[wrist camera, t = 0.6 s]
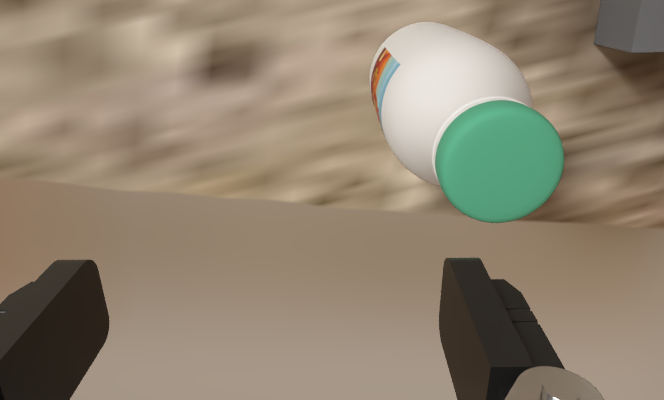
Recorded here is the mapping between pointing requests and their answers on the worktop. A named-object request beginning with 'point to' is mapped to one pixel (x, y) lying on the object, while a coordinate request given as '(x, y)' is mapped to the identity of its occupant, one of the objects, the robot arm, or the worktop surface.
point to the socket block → (631, 25)
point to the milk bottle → (465, 121)
